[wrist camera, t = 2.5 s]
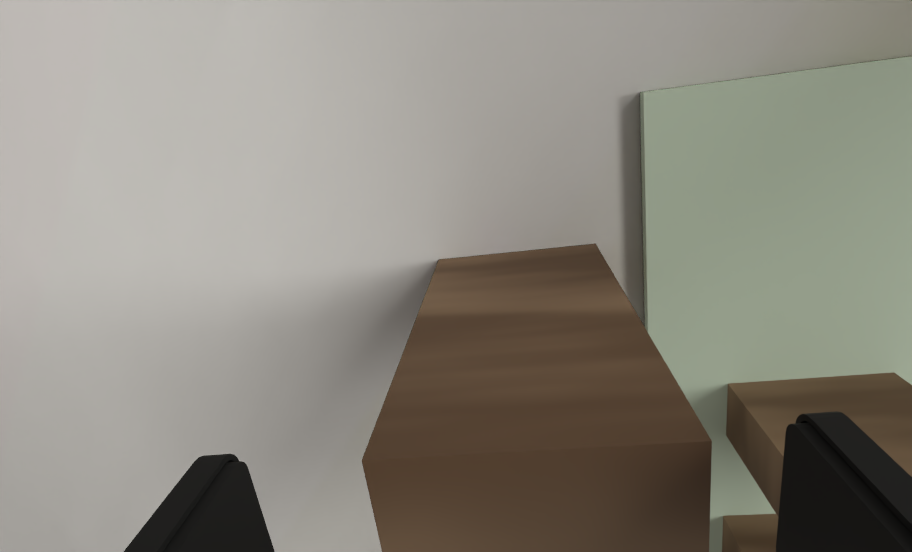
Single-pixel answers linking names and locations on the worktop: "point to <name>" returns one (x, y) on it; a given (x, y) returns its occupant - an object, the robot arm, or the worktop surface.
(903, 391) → the domino
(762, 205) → the mat
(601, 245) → the worktop surface
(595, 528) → the domino
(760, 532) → the domino
